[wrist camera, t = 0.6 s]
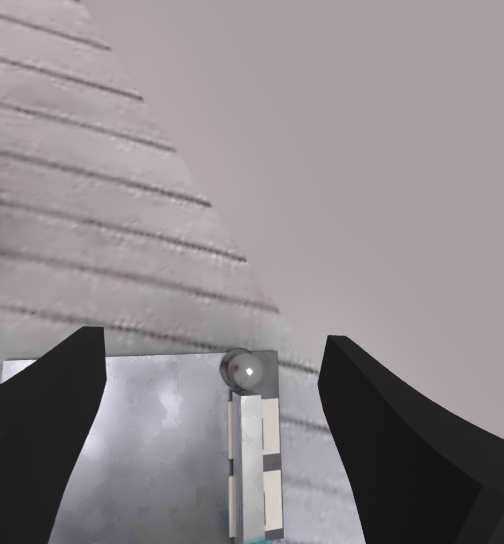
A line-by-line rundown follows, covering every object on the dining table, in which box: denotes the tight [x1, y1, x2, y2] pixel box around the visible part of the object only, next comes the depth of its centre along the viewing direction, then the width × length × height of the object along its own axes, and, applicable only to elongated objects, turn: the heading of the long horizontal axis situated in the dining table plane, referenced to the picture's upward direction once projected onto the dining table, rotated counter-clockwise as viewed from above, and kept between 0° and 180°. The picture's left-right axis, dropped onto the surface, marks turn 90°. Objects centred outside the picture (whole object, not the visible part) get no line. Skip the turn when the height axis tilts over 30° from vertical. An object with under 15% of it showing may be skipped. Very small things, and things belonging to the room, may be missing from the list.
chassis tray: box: [2, 351, 284, 544], centre depth 34 cm, size 17×24×1 cm
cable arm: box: [232, 390, 272, 544], centre depth 32 cm, size 14×3×4 cm, turn 1°
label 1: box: [227, 398, 280, 459], centre depth 36 cm, size 5×5×1 cm
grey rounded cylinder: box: [220, 348, 269, 390], centre depth 34 cm, size 4×4×4 cm
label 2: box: [228, 469, 283, 537], centre depth 35 cm, size 5×5×1 cm
